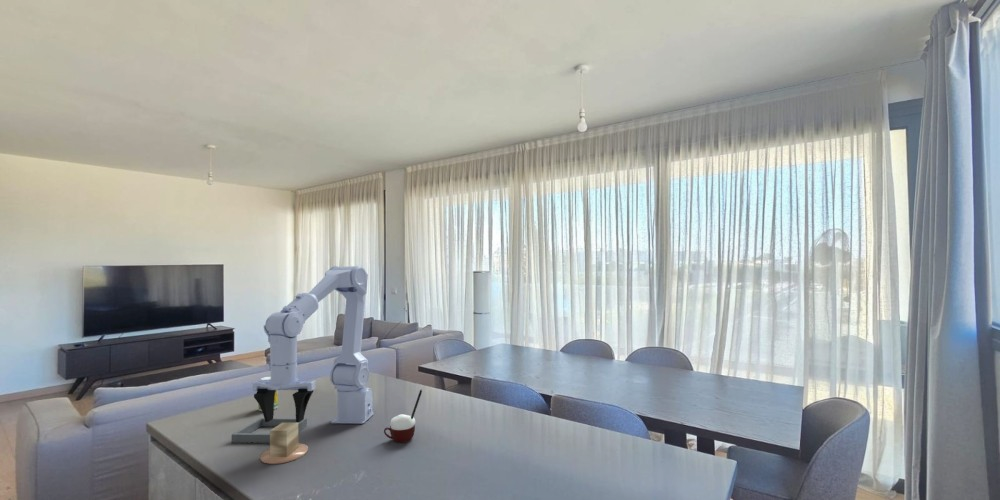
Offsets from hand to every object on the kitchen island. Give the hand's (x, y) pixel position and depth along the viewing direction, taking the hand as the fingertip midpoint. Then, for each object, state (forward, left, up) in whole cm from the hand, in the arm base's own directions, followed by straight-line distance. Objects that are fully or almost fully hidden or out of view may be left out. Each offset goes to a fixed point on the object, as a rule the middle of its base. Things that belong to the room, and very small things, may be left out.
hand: (284, 420), depth 102 cm
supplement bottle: (+24, -31, -8) cm, 40 cm away
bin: (+11, -12, -8) cm, 18 cm away
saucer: (0, 0, -8) cm, 8 cm away
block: (0, 0, -7) cm, 7 cm away
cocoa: (-26, -9, -8) cm, 29 cm away
